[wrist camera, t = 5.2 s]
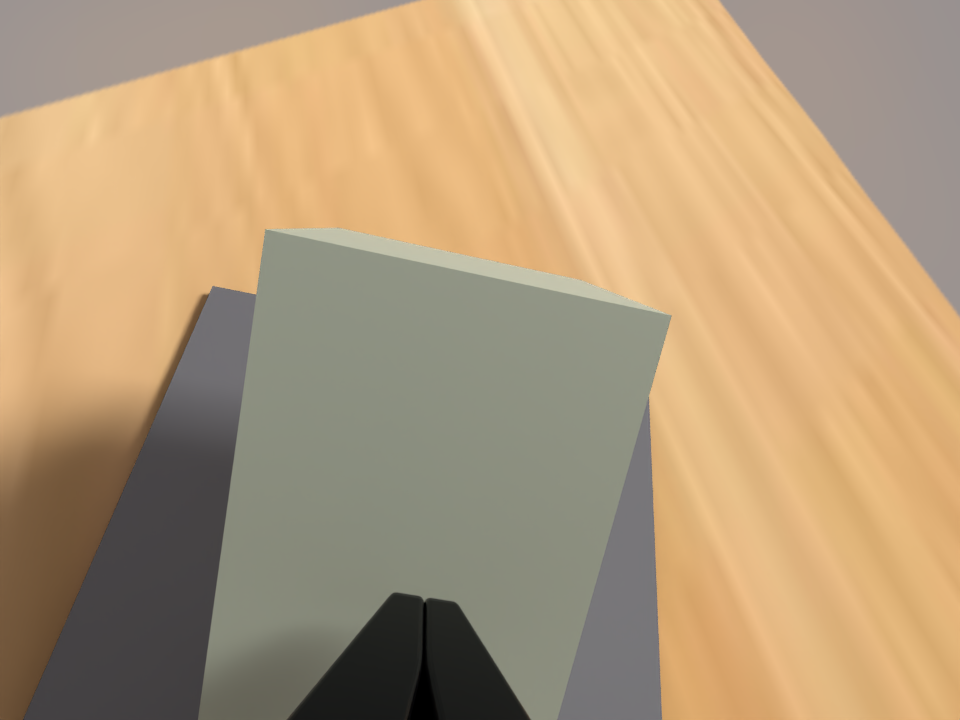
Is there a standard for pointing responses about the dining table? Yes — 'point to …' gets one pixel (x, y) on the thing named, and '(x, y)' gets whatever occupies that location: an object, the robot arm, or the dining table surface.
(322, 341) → the sage block
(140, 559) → the rubber mat
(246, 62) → the dining table surface
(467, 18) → the dining table surface
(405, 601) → the robot arm
